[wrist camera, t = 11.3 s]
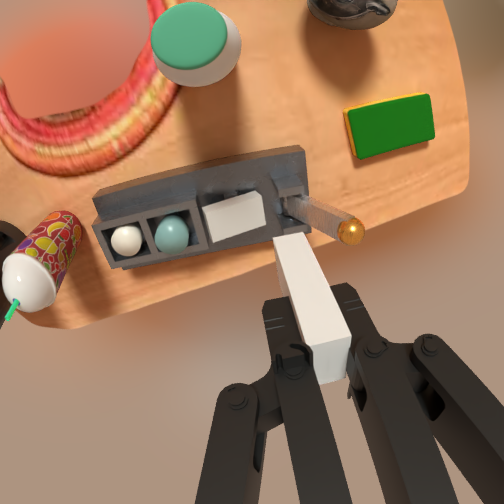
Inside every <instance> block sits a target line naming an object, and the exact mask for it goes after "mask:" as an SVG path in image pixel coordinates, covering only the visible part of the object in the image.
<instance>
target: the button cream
mask: <svg viewBox="0 0 504 504" xmlns="http://www.w3.org/2000/svg"><path fill="white" fill-rule="evenodd" d="M143 238H144V234H143V231H142V228H141V226H140V225H139V224H138V223H137V222H132V223H128V224H124V225H120V226H117V228H116V230H115V232H114V234H113V235H112V238H111V244H112V247H113V248H114V250H115V251H116V252H117V253H119V254H121V255H123V256H132V255H135V254H136V253H137V252H138V251H139V249H140V247H141V244H142V241H143Z"/></svg>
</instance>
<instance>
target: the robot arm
mask: <svg viewBox="0 0 504 504" xmlns="http://www.w3.org/2000/svg"><path fill="white" fill-rule="evenodd" d="M25 238H26V236H25V235H24V234H23V233H22V232H21V231H20V230H19V229H18V228H16V227H15V226H13V225H12V224H10V223H8V222H5V221H0V329H1V327H2V325H3V323H4V321H5V316H6V314H7V312H8V311H9V309H10V307H11V305H12V304H11V303H10V302H9V301H8V299H7V298H6V296H5V294H4V291H3V286H2V275H3V271H2V268H3V262H4V261H5V259H6V258H7V257H8V256H9V255H10V254H11V253H12V252H13V251H14V250H15V249H16V248H17V246H18V245H19V244H20V243H21V242H22V241H23V240H24V239H25ZM273 244H274V251H275V258H276V265H277V272H278V279H279V283H280V287H281V291H282V294H283V297H282V298H276V299H271V300H267V301H265V303H264V306H263V309H262V314H263V319H264V324H265V329H266V334H267V339H268V345H269V350H270V355H271V367H270V369H269V371H268V373H267V374H266V375H265V376H264V377H262V378H261V379H259V380H258V381H256V382H254V383H252V384H250V385H247V384H243V383H235V384H231V385H229V386H227V387H225V388H224V389H223V390H222V391H221V392H220V394H219V396H218V398H217V402H216V407H215V412H214V416H213V421H212V426H211V431H210V435H209V440H208V444H207V449H206V454H205V458H204V463H203V467H202V472H201V477H200V481H199V486H198V491H197V496H196V500H195V504H258V500H259V492H260V485H261V477H262V470H263V462H264V454H265V445H266V438H267V431H269V430H271V429H273V428H275V427H276V426H278V425H280V424H282V423H284V425H285V431H286V435H287V441H288V446H289V450H290V455H291V461H292V465H293V470H294V475H295V480H296V485H297V490H298V495H299V500H300V504H352V500H351V497H350V493H349V489H348V485H347V481H346V478H345V474H344V470H343V467H342V463H341V460H340V456H339V452H338V449H337V445H336V442H335V438H334V434H333V431H332V427H331V424H330V421H329V417H328V414H327V410H326V407H325V404H324V400H323V397H322V393H321V390H320V386H319V385H321V384H324V383H328V382H332V381H336V380H340V379H343V378H345V377H346V371H347V374H348V377H349V380H350V384H349V388H348V393H347V396H348V399H350V398H351V396H352V399H353V401H354V404H355V407H356V410H357V413H358V416H359V419H360V422H361V425H362V428H363V431H364V434H365V437H366V440H367V443H368V446H369V450H370V453H371V456H372V459H373V462H374V465H375V469H376V472H377V475H378V478H379V482H380V485H381V488H382V492H383V495H384V499H385V502H386V504H459V503H458V500H457V497H456V494H455V491H454V488H453V486H452V483H451V480H450V477H449V475H448V472H447V469H446V467H445V464H444V461H443V459H442V456H441V454H440V451H439V448H438V446H437V444H436V441H435V439H434V437H435V438H436V439H437V441H438V442H439V443H440V444H441V446H442V447H443V449H444V450H445V451H446V453H447V454H448V455H449V456H450V458H451V459H452V461H453V462H454V463H455V465H456V466H457V467H458V469H459V470H460V471H461V473H462V474H463V476H464V477H465V478H466V480H467V481H468V482H469V484H470V485H471V486H472V488H473V489H474V491H475V492H476V493H477V495H478V496H479V498H480V499H481V500H482V502H483V503H484V504H504V407H503V405H502V404H501V403H500V402H499V401H498V400H497V398H496V397H495V396H494V395H493V394H492V393H491V391H490V390H489V389H488V388H487V387H486V386H485V385H484V384H483V382H482V381H481V380H480V379H479V378H478V377H477V376H476V375H475V374H474V373H473V371H472V370H471V369H470V368H469V367H468V366H467V365H466V364H465V363H464V362H463V361H462V360H461V359H460V358H459V357H458V355H457V354H456V353H455V352H454V351H453V350H452V349H451V348H450V347H449V346H448V345H447V344H446V343H445V342H444V341H443V340H442V339H441V338H439V337H438V336H436V335H433V334H423V335H421V336H419V337H418V338H417V339H416V340H415V342H414V343H402V344H400V343H392V342H389V341H388V340H387V339H385V338H384V337H382V336H380V334H379V333H378V331H377V330H376V327H375V326H374V324H373V322H372V320H371V318H370V316H369V314H368V312H367V310H366V308H365V307H364V304H363V303H362V301H361V300H360V297H359V295H358V293H357V291H356V290H355V289H354V288H353V287H352V286H350V285H349V284H348V283H342V284H338V285H333V286H329V284H328V282H327V280H326V278H325V276H324V274H323V272H322V270H321V268H320V265H319V263H318V261H317V259H316V257H315V255H314V253H313V251H312V249H311V247H310V245H309V243H308V241H307V239H306V237H305V235H304V233H303V232H300V233H294V234H289V235H284V236H279V237H274V238H273ZM433 435H434V436H433Z"/></svg>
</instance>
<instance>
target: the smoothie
mask: <svg viewBox="0 0 504 504" xmlns="http://www.w3.org/2000/svg"><path fill="white" fill-rule="evenodd" d="M81 240H82V228H81V224H80V222H79V220H78V218H77V217H76V216H75V215H74V214H72V213H70V212H68V211H55V212H53V213H51V214H50V215H49V216H47V217H46V218H45V219H44V220H43V221H42V222H41V223H40V224H39V225H38V226H37V227H36V228H35V229H34V230H33V231H32V232H31V233H30V234H29V235H28V236H27V237H26V238H25V239H24V240H23V241H22V242H21V243H20V244H19V245H18V246H17V248H16V249H15V250H14V251H13V252H12V253H11V254H10V255H9V256H8V257H7V258H6V259H5V261H4V262H3V268H2V271H3V275H2V286H3V291H4V294H5V296H6V298H7V299H8V301H9V302H10V303H11V304H12V305H11V307H10V309H9V311H8V312H7V314H6V316H5V319H6V320H7V321H9V320H10V318H11V317H12V314H13V313H14V311H15V309H16V308H17V309H18V310H21V311H23V312H29V313H32V312H36V311H40V310H42V309H43V308H45V307H49V306H50V305H51V304H53V303H54V301H55V298H56V295H57V293H58V290H59V288H60V285H61V283H62V281H63V279H64V276H65V274H66V272H67V270H68V267H69V265H70V263H71V261H72V259H73V257H74V255H75V253H76V250H77V248H78V246H79V244H80V242H81Z"/></svg>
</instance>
